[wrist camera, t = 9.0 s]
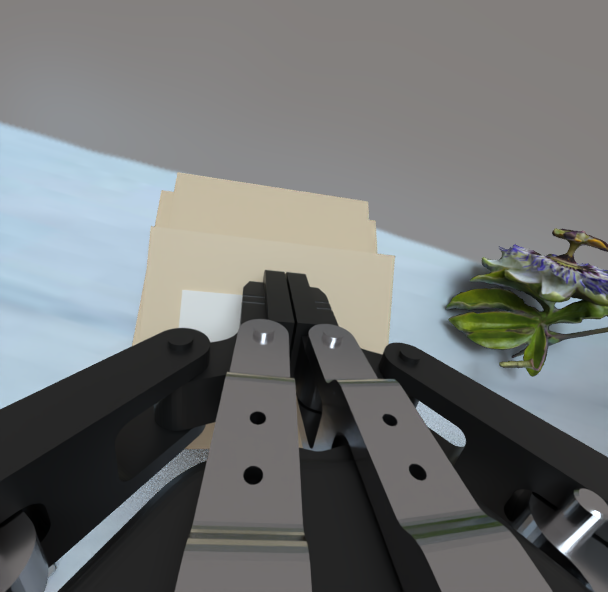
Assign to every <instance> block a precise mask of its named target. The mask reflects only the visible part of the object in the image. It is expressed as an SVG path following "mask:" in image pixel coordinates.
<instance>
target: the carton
mask: <svg viewBox="0 0 608 592" xmlns="http://www.w3.org/2000/svg"><path fill="white" fill-rule="evenodd" d="M155 227H161V228H170V229H178V230H186V231H194V232H203V233H211V234H219V235H227V236H236V237H244V238H252V239H260V240H268V241H277V242H285V243H293V244H301V245H310V246H318V247H326V248H334V249H343V250H351V251H359V252H367V253H375V254H377V239H376V221H373V220H369V212H368V202H367V201H360V200H354V199H347V198H341V197H334V196H328V195H321V194H315V193H308V192H302V191H295V190H289V189H283V188H276V187H269V186H263V185H257V184H249V183H243V182H237V181H231V180H224V179H218V178H211V177H204V176H198V175H192V174H185V173H179V172H178V173H177V179H176V184H175V190H174V192H170V191H163V190H162V191H161V196H160V201H159V207H158V212H157V217H156V222H155ZM146 271H147V270H146ZM145 281H146V275H145V280H144V286H143V291H142V296H141V301H140V307H139V312H138V317H137V322H136V328H135V333H134V338H133V343H132V346H134V345H136V344H138V343H139V341H140V331H141V321H142V311H143V301H144V291H145Z"/></svg>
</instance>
